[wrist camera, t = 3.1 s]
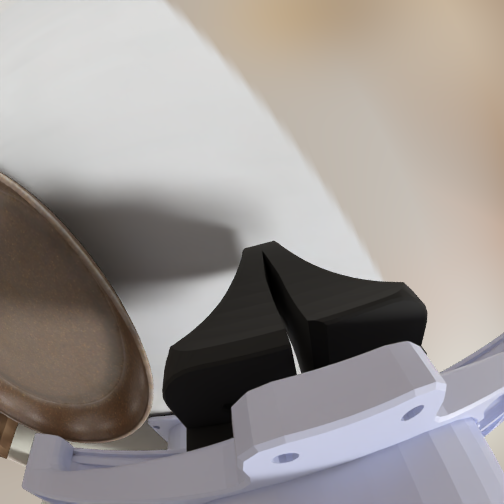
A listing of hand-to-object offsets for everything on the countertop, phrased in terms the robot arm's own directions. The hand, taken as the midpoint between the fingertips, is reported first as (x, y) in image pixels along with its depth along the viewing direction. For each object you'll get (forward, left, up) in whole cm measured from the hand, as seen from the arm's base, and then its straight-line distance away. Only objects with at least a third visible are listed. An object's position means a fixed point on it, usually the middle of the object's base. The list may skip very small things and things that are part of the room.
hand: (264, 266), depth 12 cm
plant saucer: (0, +16, -2) cm, 16 cm away
